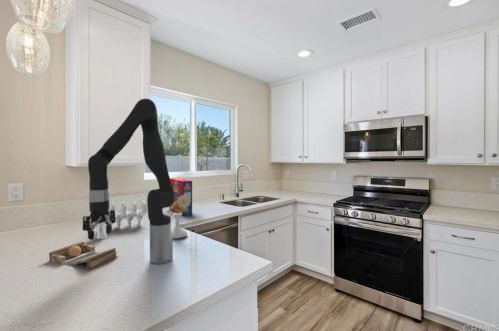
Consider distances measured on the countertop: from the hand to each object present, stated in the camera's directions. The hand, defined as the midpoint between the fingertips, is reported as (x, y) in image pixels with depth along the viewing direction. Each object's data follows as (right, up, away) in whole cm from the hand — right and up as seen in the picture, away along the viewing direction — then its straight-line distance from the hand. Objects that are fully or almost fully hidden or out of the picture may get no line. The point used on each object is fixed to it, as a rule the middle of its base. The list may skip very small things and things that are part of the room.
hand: (100, 236), depth 108 cm
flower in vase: (+24, -12, +38) cm, 46 cm away
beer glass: (-20, -11, +35) cm, 42 cm away
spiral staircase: (-17, -10, +55) cm, 59 cm away
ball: (-17, -9, +8) cm, 21 cm away
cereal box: (+7, -9, +101) cm, 102 cm away
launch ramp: (-5, -12, +3) cm, 14 cm away
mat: (-10, -12, +5) cm, 17 cm away
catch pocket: (-18, -12, +8) cm, 23 cm away
